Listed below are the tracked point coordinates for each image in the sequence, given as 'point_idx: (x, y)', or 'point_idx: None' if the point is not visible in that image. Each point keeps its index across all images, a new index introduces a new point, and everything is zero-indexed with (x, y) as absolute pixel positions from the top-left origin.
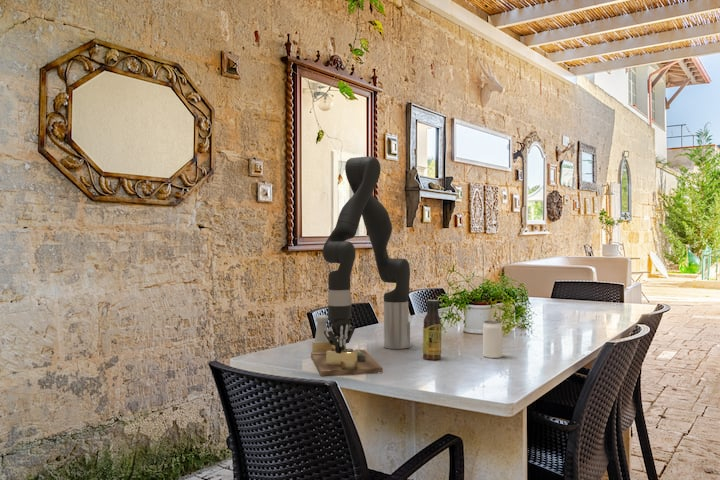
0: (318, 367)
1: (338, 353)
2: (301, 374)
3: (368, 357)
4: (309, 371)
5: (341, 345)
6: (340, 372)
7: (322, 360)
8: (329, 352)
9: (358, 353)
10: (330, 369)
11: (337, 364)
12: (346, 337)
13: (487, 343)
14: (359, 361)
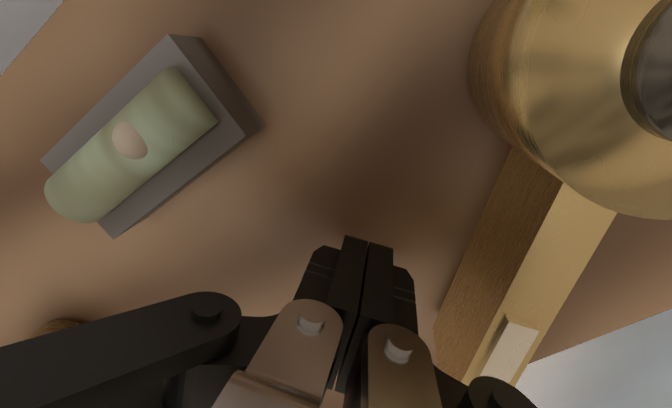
0: (551, 348)
1: (589, 259)
2: (664, 396)
3: (40, 91)
4: (552, 379)
5: (397, 333)
6: None
7: (330, 392)
8: (511, 383)
9: (195, 116)
10: (661, 221)
11: (426, 241)
12: (255, 384)
13: None
14: (240, 91)
